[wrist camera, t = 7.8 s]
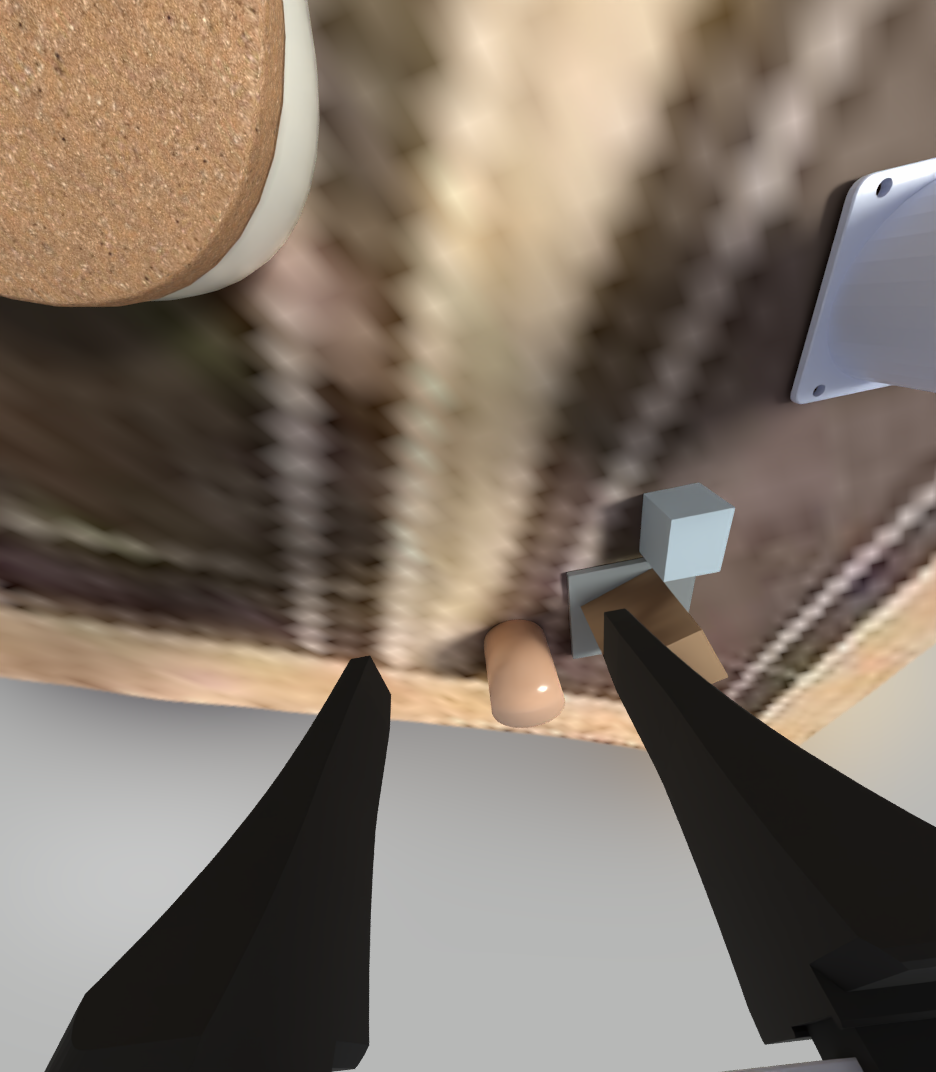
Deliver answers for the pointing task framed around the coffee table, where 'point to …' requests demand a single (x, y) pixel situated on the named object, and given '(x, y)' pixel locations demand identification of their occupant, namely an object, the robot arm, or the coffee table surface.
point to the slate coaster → (601, 581)
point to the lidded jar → (150, 145)
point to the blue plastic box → (684, 531)
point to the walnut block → (658, 621)
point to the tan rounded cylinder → (521, 675)
